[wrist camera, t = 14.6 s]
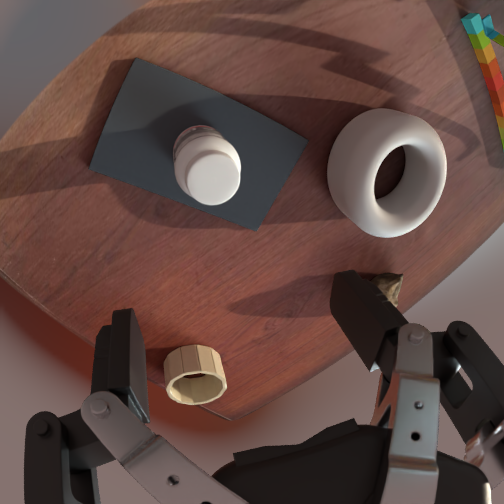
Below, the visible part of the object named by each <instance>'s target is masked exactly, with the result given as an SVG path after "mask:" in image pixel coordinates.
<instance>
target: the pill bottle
mask: <svg viewBox="0 0 504 504" xmlns="http://www.w3.org/2000/svg"><path fill="white" fill-rule="evenodd" d="M173 159H174V169H175V176H176V180H177V182H178V184H179V186H180V187H181V189H182V190H183V191H184V192H185V193H186V194H188V195H189V196H191V197H193V198H194V199H195V200H197V201H198V202H200V203H202V204H206V205H218V204H221V203H224V202H226V201H227V200H229V199H230V198H231V197H232V196H233V195H234V194H235V193H236V191H237V189H238V187H239V184H240V171H241V164H240V159H239V156H238V154H237V152H236V150H235V149H234V147H233V146H232V145H231V144H230V143H229V142H228V141H227V140H226V139H225V138H224V137H223V136H222V135H221V134H220V133H219V132H218V131H217V130H215V129H214V128H212V127H209V126H204V125H198V126H193V127H190V128H188V129H186V130H185V131H183V132H182V133H181V134H180V135H179V136H178V138H177V140H176V142H175V144H174V148H173Z"/></svg>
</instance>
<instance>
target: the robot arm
mask: <svg viewBox="0 0 504 504" xmlns="http://www.w3.org/2000/svg"><path fill="white" fill-rule="evenodd" d="M330 309H331V313H332V315H333V317H334V318H335V320H336V321H337V323H338V324H339V326H340V327H341V329H342V330H343V332H344V333H345V335H346V336H347V338H348V339H349V341H350V342H351V344H352V345H353V347H354V349H355V350H356V352H357V353H358V355H359V356H360V358H361V359H362V361H363V362H364V364H365V365H366V367H367V368H368V370H369V372H371V371H373V370H376V369H379V368H380V370H381V371H382V373H381V375H380V380H379V386H378V392H377V398H376V404H375V409H374V414H373V417H372V420H371V422H370V425H357V423H356V421H355V419H354V418H353V419H350V420H348V421H345V422H342V423H339V424H336V425H333V426H331V427H328V428H326V429H324V430H323V431H321V432H319V433H318V434H316V435H314V436H313V437H311V438H309V439H308V440H306V441H304V442H303V443H301V444H297V445H284V446H283V445H281V446H263V447H259V448H255V449H250V450H246V451H241V452H237V453H233V456H234V461H232V462H230V463H228V464H226V465H224V466H223V467H221V468H220V469H219V470H217V471H216V472H215V473H214V474H213V475H212V476H209V474H207V473H206V472H205V471H203V470H202V469H201V468H199V467H198V466H197V465H196V464H194V463H193V462H192V461H191V460H189V459H188V458H187V457H186V456H184V455H183V454H182V453H181V452H179V451H178V450H177V449H176V448H175V447H173V446H172V445H171V444H170V443H169V442H168V441H167V440H165V439H164V438H163V437H162V436H160V435H156V434H155V433H153V432H152V431H151V430H150V429H149V428H148V427H147V426H146V425H145V423H150V417H149V405H148V392H147V375H146V353H145V345H144V340H143V336H142V333H141V330H140V328H139V325H138V322H137V319H136V316H135V313H134V310H133V308H129V309H122V310H115V311H113V315H112V325H107V326H103V327H102V328H101V330H100V331H99V333H98V335H97V336H96V344H95V354H94V358H95V359H94V363H93V373H92V385H91V394H90V395H89V396H88V397H87V398H86V399H85V400H84V402H83V404H82V407H81V409H79V410H77V411H75V412H73V413H70V414H68V415H65V416H62V417H59V418H58V417H57V416H56V415H55V414H53V413H51V412H47V411H44V412H39V413H37V414H35V415H34V416H33V417H32V418H31V419H30V420H29V422H28V424H27V427H26V438H25V455H24V500H25V504H101V502H100V495H99V488H98V479H97V470H96V467H97V466H100V465H103V464H106V463H108V462H111V461H113V460H116V459H117V460H118V461H119V463H120V464H121V465H122V466H123V467H124V469H125V470H126V471H127V472H128V473H129V474H130V475H131V476H132V477H133V478H134V479H135V480H136V481H137V482H138V483H139V484H140V485H141V486H142V487H143V488H144V489H145V490H146V491H147V492H148V493H149V494H151V495H152V496H153V497H154V498H155V499H156V500H157V501H158V502H159V503H160V504H491V490H492V489H493V488H495V487H496V486H497V485H498V484H500V483H501V482H502V481H503V480H504V365H503V364H502V363H501V362H500V360H499V359H498V358H497V356H496V355H495V354H494V353H493V351H492V350H491V349H490V348H489V346H488V345H487V344H486V343H485V342H484V340H483V339H482V338H481V337H480V336H479V334H478V333H477V332H476V331H475V330H474V329H473V327H471V326H470V325H469V324H467V323H465V322H463V321H454V322H452V323H450V324H449V326H448V328H447V330H446V331H444V332H430V331H429V330H428V329H426V328H425V327H424V326H422V325H420V324H416V323H409V322H408V321H407V320H406V319H405V318H404V316H403V315H402V314H401V313H400V312H399V311H398V310H397V308H396V307H395V306H394V305H393V304H392V303H391V301H389V299H388V298H387V297H386V296H385V295H383V292H382V291H381V290H380V289H379V288H378V287H377V286H376V285H375V284H373V283H372V282H370V281H368V280H367V279H362V278H361V277H360V276H359V275H358V274H357V272H356V271H355V270H348V271H343V272H338V273H336V274H335V275H334V279H333V286H332V292H331V298H330ZM460 367H462V368H463V370H464V371H465V373H466V374H467V375H468V377H469V378H470V380H471V381H472V384H473V390H471V389H470V388H469V386H468V385H467V383H466V382H465V380H464V379H463V377H462V376H461V375H460V373H459V372H458V370H459V368H460ZM440 403H441V404H442V406H443V407H444V409H445V411H446V412H447V414H448V415H449V417H450V419H451V420H452V422H453V424H454V425H455V427H456V429H457V430H458V432H459V434H460V435H461V437H462V439H463V441H464V442H465V444H466V448H465V453H466V455H465V456H464V461H463V460H460V459H458V458H455V457H452V456H450V455H447V454H445V453H442V452H440V451H437V443H438V430H439V409H440V408H439V407H440Z"/></svg>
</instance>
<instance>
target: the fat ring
mask: <svg viewBox="0 0 504 504" xmlns="http://www.w3.org/2000/svg"><path fill="white" fill-rule="evenodd" d="M401 145H402V146H403V148H404V151H405V157H406V163H405V169H404V173H403V176H402V178H401V180H400V182H399V183H398V185H397V186H396V188H395V189H394V190H393V191H392V192H391V193H389V194H388V195H386V196H385V197H382V198H379V199H375V196H374V182H375V177H376V174H377V171H378V169H379V166H380V165H381V163H382V161H383V160H384V158H385V157H386V156H387V155H388V154H389V153H390V152H391V151H392V150H393V149H395V148H396V147H398V146H401ZM446 170H447V164H446V155H445V150H444V147H443V144H442V142H441V140H440V138H439V136H438V134H437V133H436V132H435V130H434V129H433V128H432V127H431V126H430V125H429V124H428V123H427V122H425V121H424V120H422V119H420V118H418V117H416V116H413V115H410V114H407V113H403V112H400V111H396V110H392V109H386V108H379V109H373V110H369V111H366V112H364V113H362V114H360V115H358V116H357V117H355V118H354V119H352V120H351V121H350V122H349V123H348V124H347V125H346V126H345V127H344V128H343V129H342V131H341V132H340V134H339V135H338V137H337V138H336V140H335V142H334V144H333V147H332V149H331V152H330V156H329V160H328V167H327V179H328V186H329V190H330V193H331V196H332V198H333V200H334V202H335V204H336V205H337V207H338V208H339V209H340V210H341V211H342V212H343V213H344V214H345V215H346V216H347V217H348V218H349V219H350V220H351V221H353V222H354V223H355V224H356V225H357V226H358V227H359V228H360V229H362V230H363V231H365V232H366V233H368V234H371V235H373V236H377V237H386V238H387V237H396V236H400V235H403V234H405V233H407V232H409V231H411V230H413V229H414V228H416V227H417V226H418V225H420V224H421V223H422V222H423V221H424V220H425V219H426V218H427V217H428V216H429V215H430V213H431V212H432V211H433V209H434V208H435V206H436V204H437V202H438V200H439V198H440V196H441V194H442V191H443V188H444V184H445V179H446Z"/></svg>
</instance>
